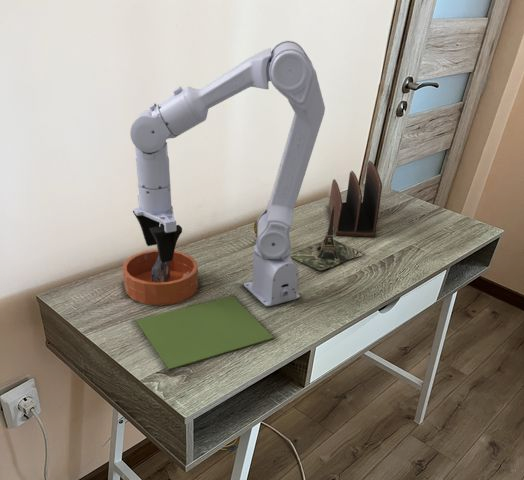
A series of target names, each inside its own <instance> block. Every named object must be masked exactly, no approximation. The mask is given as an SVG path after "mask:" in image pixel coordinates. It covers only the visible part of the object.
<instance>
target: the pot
mask: <svg viewBox="0 0 524 480" xmlns="http://www.w3.org/2000/svg"><path fill="white" fill-rule="evenodd" d="M158 257H159V253H158V249H151V250H146V251H142V252H139V253H136V254H134V255H132V256H131V257H129V258H128V259H126V260H125V261H124V263H123V265H122V276H123V284H124V290H125V293H126V294H127V296H128V297H129V298H131V299H132V300H133V301H136V302H138V303H140V304H145V305H151V306H168V305H169V306H170V305H174V304H179V303H182V302H184V301H186V300H189V299H190V298H191V297H193V296H194V295H195V294H196V293H197V291H198V288H199V266H198V265H199V264H198V261H197V260H196V259H195V258H194V257H193V256H192V255H189V254H188V253H185V252H182V251H179V250H174V255H173V259H172V261H169V266H170V277H169V279H168V281H167V282H158V283H156V282H152V275H151V271H152V268H153V266H154V264H155V262H156V260H157V258H158Z"/></svg>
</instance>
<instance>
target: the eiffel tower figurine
mask: <svg viewBox="0 0 524 480" xmlns="http://www.w3.org/2000/svg"><path fill="white" fill-rule="evenodd" d="M334 209H335V206H334V205H333V206H332V213H330V218H329V224H328V229H327V232H325V233H326V234H325V236H324V239H323V240H322V239H321V241H320V242H318V243H316V244H312V245H310V246H307V247H305V248H302V249H299V250H298V251H295V252H293V253H290V254H291V259H294V260H296V261H299V262H300V263H302V264H304V265H307V266H308V267H311V268H313V269H315V270H318V271H324V270H326V269H329V268H333V267H335V266H337V265H339V264H342V263H343V262H346V261H348V260H349V261H350V260H352V259H355V258H358V257H361V256H364V254H363V253H361V252H358V251H356V250H355V249H353V248H351V247H349V246H347V245H345V244H343V243H341V242H339V241H338V240H336V239H334V236H335V235H334V225H333V218H334Z"/></svg>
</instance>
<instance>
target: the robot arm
mask: <svg viewBox="0 0 524 480" xmlns="http://www.w3.org/2000/svg"><path fill="white" fill-rule="evenodd" d="M269 82H271V84H272V86H273V87H274V89H276V90H277V91H278V92H279V94H281V95H282V96H283V97H285V98H286V99H287V102H288V103H289V105H290V106H291V108H292V110H293V112H294V114H293V117H292V121H291V124H290V128H289V132H288V136H287V139H286V141H285V145H284V149H283V152H282V156H281V159H280V162H279V167H278V170H277V174H276V177H275V180H274V184H273V187H272V191H271V195H270V197H269V199H268V200H267V203H266V206H265V209H264V210H263V212H262V213H260V215H259V216H258V218H257V220H256V221H257V237H256V241H255V244H254V246H253V254H252V255H253V256H252V280H251V281H249V282H244V283H243V286H244V287H245V289H247V291H249V292H250V293H251V294H252V295H253V296H254V297H255V298H256V299H257V300H258V301H259V302H260V303H261V304H262V305H264V306H265V307H266V308H267V307H272V306H276V305H279V304H283V303H286V302H290V301H294V300H297V299H300V298H301V297H300V294H298V293H297V292H298V282H299V269H298V267H297V264H295V262H294V261H293V258H292V257H291V254H292V253H291V251H292V249H291V237H290V232H291V228H292V224H293V219H294V217H293V216H294V210H295V208H296V204H297V201H298V197H299V195H300V191H301V188H302V185H303V183H304V178H305V176H306V173H307V169H308V167H309V163H310V160H311V156H312V153H313V150H314V147H315V144H316V142H317V138H318V135H319V132H320V128H321V125H322V123H323V119H324V115H325V111H326V107H325V106H326V105H325V102H324V98H323V94H322V91H321V87H320V83H319V80H318V75H317V71H316V69H315V67H314V65H313V63H312V61H311V59H310V58H309V56H308V54H307V53H306V51H305V49H304V48H303V47H302V46H301V44H299V43H298V42H295V41H293V40H284V41H283V40H282V41H281V42H279V43H277V44H276V45H275V46H273V48H271V47H268V48H265V49H264V50H262V51H260V52H257V53H255V54H254V55H251V56H249V57H248V58H246V59H244V60H243V61H241V62H240V63H238V64H237V65H235V66H233V67H232V68H231V69H229V70H228V71H226V72H224V73H223V74H222V75H220V76H219V77H217V78H215V79H214V80H212V81H211V82H209V83H208V84H206V85H205V86H203V87H201V88H195V87H192V86H185V88H182V86H178V87H176V88H175V89H173V92H172V93H173V95H171V96H169V97H168V98H166V99H164V100H163V101H161V102H160V103H158V104H157V103H156V102H154V103H152V104H150V105H149V109H146V110H144V111H142V112H140V113H139V115H138V116H137V117H136V119H135V120H134V121H133V123H132V124H131V127H130V140H131V142H132V144H133V145H134V146H135V147H134V149H135V167H136V177H137V187H138V194H137V202H138V207H135V208H134V209H133V210H132V213H133V215H134V216H135V218H136V220H137V222H138V224H139V227H140V229H141V231H142V235H143V238H144V241H145V245H146V246H147V247H152V246H156V248H157V250H158V253H159V257H160V260H161V262H168V261H172V259H173V255H174V251H176V245H177V242H178V240H179V238H180V236H181V235H182V233H183V227H182V226H181V225H180V224H177V221H176V219H175V215H174V207H173V205H172V189H171V188H172V187H171V173H170V171H171V170H170V158H169V154H168V153H169V151H168V142H167V140H169V139H176V138H177V137H179V136H181V135H182V134H184V133H186V132H188V131H190V130H191V129H193V128H195V127H196V126H198V125H200V124H202V123H203V122H205V121H206V120H207V118H208V113H209V109H210V108H214V107H215V106H216V105H219V104H221V103H222V102H224V101H226V100H229V99H230V98H232V97H234V96H235V95H237V94H240V93H242V92H243V91H246V90H247V89H249V88H257V89H261V90H269V87H270V85H269Z"/></svg>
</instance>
